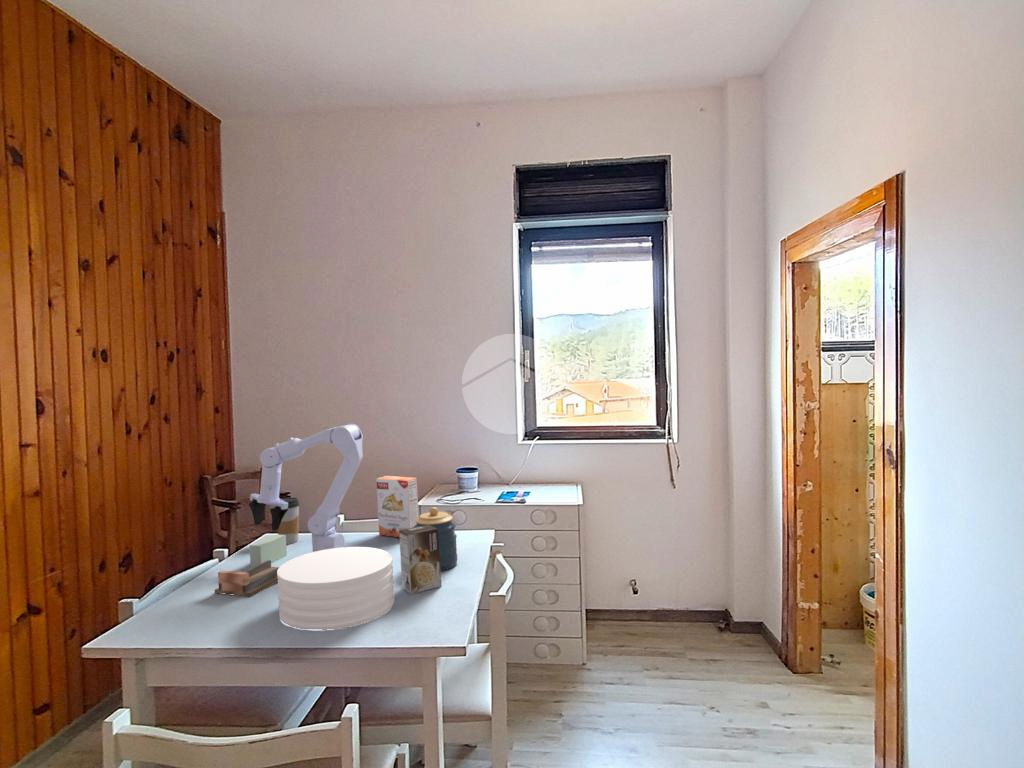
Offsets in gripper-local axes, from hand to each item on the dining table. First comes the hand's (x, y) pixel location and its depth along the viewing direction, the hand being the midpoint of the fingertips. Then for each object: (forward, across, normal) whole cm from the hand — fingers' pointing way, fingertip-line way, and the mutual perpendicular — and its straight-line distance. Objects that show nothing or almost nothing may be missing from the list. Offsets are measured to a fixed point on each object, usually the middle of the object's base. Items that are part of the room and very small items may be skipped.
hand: (266, 526), depth 198 cm
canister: (+3, +55, +15) cm, 57 cm away
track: (+10, +14, -15) cm, 23 cm away
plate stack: (+5, +49, -21) cm, 54 cm away
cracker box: (+6, +25, +38) cm, 46 cm away
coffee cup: (+12, -8, +19) cm, 24 cm away
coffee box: (+2, +62, -3) cm, 62 cm away
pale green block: (+11, +2, 0) cm, 11 cm away
